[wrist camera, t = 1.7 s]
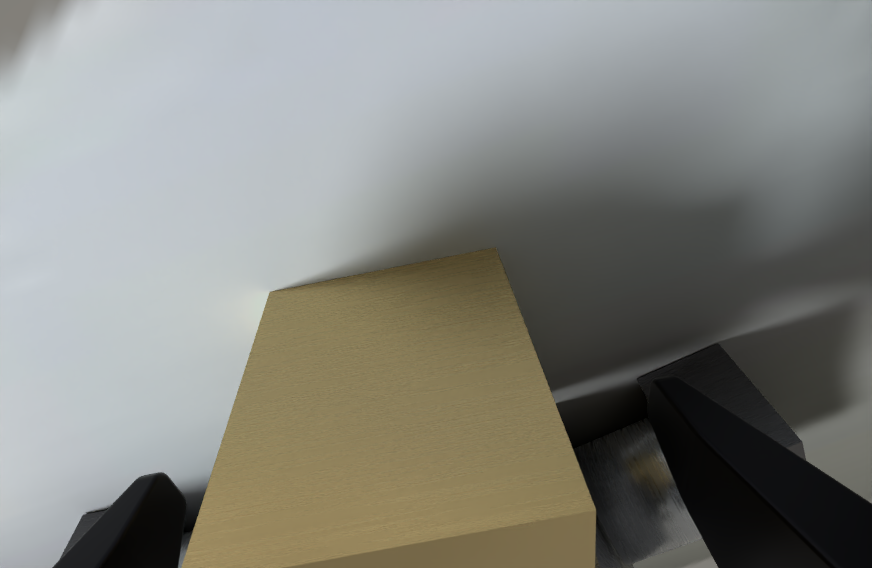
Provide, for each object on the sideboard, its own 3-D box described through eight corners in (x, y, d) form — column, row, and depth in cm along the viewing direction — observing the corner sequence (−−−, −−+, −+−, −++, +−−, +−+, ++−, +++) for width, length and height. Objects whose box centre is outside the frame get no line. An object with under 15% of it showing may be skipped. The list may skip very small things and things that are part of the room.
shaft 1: (574, 510, 15) (636, 689, 11) (507, 424, 13) (559, 618, 9) (749, 442, 14) (879, 617, 10) (714, 332, 11) (870, 512, 8)
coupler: (335, 435, 12) (309, 720, 8) (270, 290, 10) (174, 588, 5) (514, 401, 12) (593, 669, 8) (495, 245, 10) (596, 509, 5)
